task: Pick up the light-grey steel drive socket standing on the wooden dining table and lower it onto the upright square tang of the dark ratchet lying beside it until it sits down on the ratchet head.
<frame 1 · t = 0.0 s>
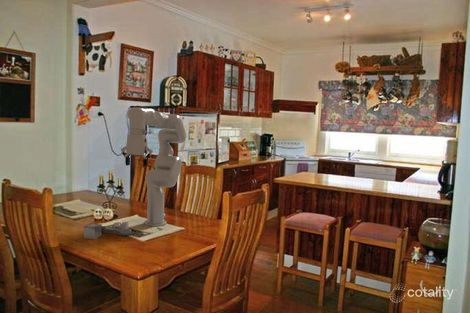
hand: (136, 165, 192), 37 cm above the table, tool pointing down, fingers open, 9 cm apart
ratchet: (125, 234, 198), on the table
socket: (92, 236, 192), on the table
small socket: (117, 229, 205), on the table
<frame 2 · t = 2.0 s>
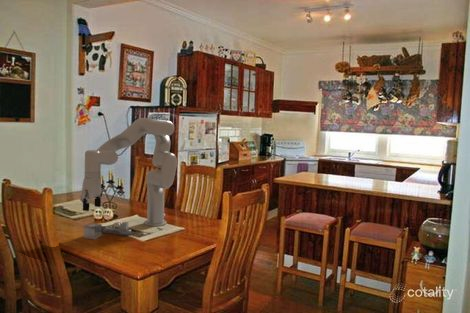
hand: (91, 208, 190), 15 cm above the table, tool pointing down, fingers open, 9 cm apart
nothing on the table moved.
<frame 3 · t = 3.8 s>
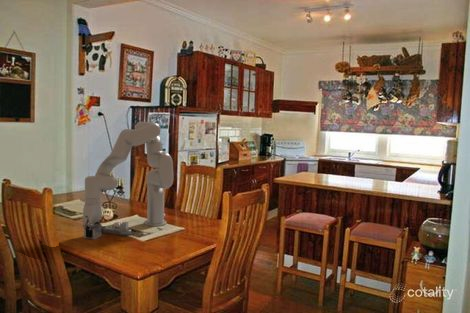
hand: (92, 235, 192), 1 cm above the table, tool pointing down, fingers closed on socket, 6 cm apart
socket: (92, 236, 192), on the table, touching gripper
everything else where it was.
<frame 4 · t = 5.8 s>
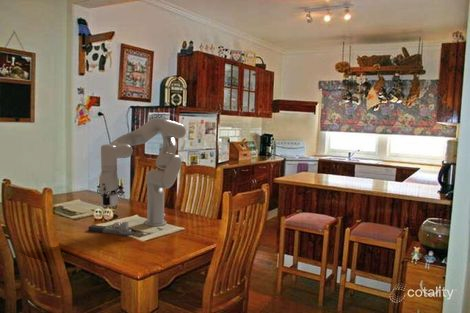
hand: (109, 203, 193), 17 cm above the table, tool pointing down, fingers closed on socket, 6 cm apart
socket: (109, 204, 193), point 16 cm above the table, touching gripper
everything else where it was.
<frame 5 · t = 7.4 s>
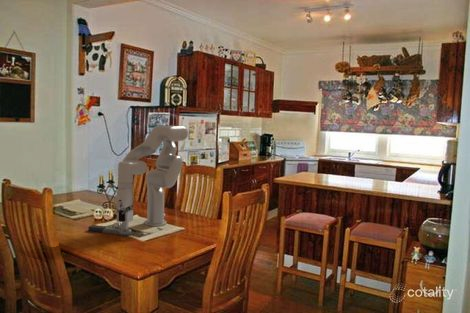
hand: (125, 219, 197), 8 cm above the table, tool pointing down, fingers closed on socket, 6 cm apart
socket: (125, 220, 197), point 7 cm above the table, touching gripper
everything else where it was.
when the fingers open (5 cm above the table, at t = 8.3 s): socket drops 2 cm, resting on ratchet.
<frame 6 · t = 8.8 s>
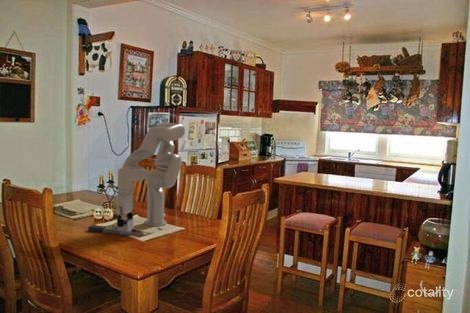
hand: (125, 224, 197), 6 cm above the table, tool pointing down, fingers open, 9 cm apart
socket: (125, 229, 197), point 2 cm above the table, touching ratchet
everything else where it was.
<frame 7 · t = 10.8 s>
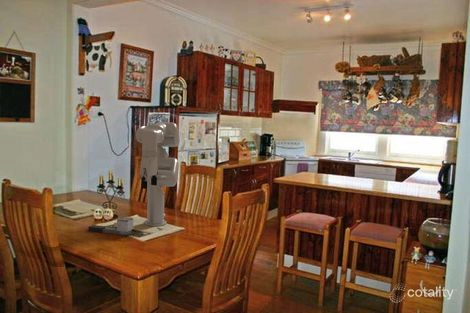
hand: (149, 186, 195), 26 cm above the table, tool pointing down, fingers open, 9 cm apart
nothing on the table moved.
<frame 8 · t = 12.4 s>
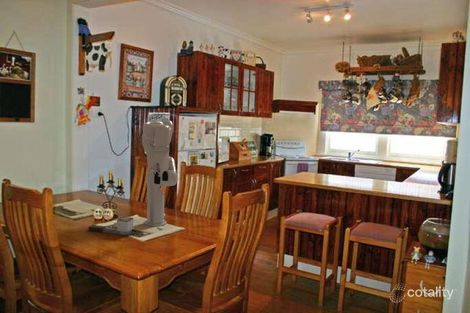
hand: (161, 182, 194), 28 cm above the table, tool pointing down, fingers open, 9 cm apart
nothing on the table moved.
at the end: socket 0.1 cm off-centre on the ratchet, point 2.4 cm above the ratchet's base; socket tilted 0°; the gripper is holding nothing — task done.
